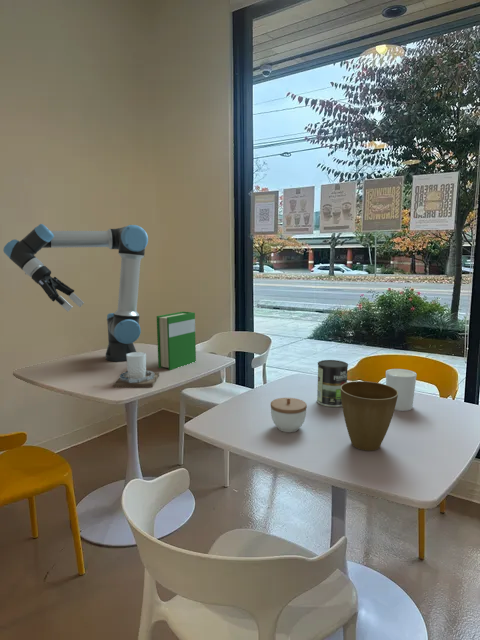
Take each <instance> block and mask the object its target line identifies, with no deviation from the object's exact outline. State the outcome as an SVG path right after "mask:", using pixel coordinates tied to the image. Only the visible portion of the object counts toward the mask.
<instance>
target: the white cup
mask: <svg viewBox="0 0 480 640" xmlns="http://www.w3.org/2000/svg"><path fill="white" fill-rule="evenodd" d="M126 358H127V361H126V367H127V372H128V376H129V378H144V377H146V370H147V353H146V352H143V351H136V352H132V353H128V354H126Z"/></svg>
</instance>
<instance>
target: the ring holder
mask: <svg viewBox="0 0 480 640" xmlns="http://www.w3.org/2000/svg"><path fill="white" fill-rule="evenodd" d="M159 378H160V372H154V371H153V370H147V369H146V377H144V378H129V376H128V371H125V372H121V374H120V375H119V378H118V379H117V380H116V381H115V382H114V383H113V388H153V387H154V386H155V383H156V382H157V380H158V379H159Z"/></svg>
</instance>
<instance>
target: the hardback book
mask: <svg viewBox="0 0 480 640" xmlns="http://www.w3.org/2000/svg"><path fill="white" fill-rule="evenodd" d="M156 336H157V337H156V338H157V365H158V369H162V368H167V369H168V371H172V370H175V369H178V367H179V368H182V367H184V365H185V366H187V364H188V365H190V363H191V364H193V363H192V362H194V363H196V362H197V350H196V348H197V347H196V344H197V343H196V341H197V340H196V313H195V312H194V311H193V312H192V311H177V312H172V313H166V314H161V315H157V316H156ZM195 361H196V362H195ZM181 366H182V367H181Z"/></svg>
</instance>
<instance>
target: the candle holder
mask: <svg viewBox="0 0 480 640" xmlns="http://www.w3.org/2000/svg"><path fill="white" fill-rule="evenodd" d="M417 377H418V376H417V373H416V371H413V370H409V369H404V368H391V369H387V370H385V385H388V386H391V387H393V388H395V389H396V390H397V391H398V397H397V402H396V406H395V410H394V411H399V412H407V411H411V410H412V409H413V406H414V399H415V391H416V381H417Z"/></svg>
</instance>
